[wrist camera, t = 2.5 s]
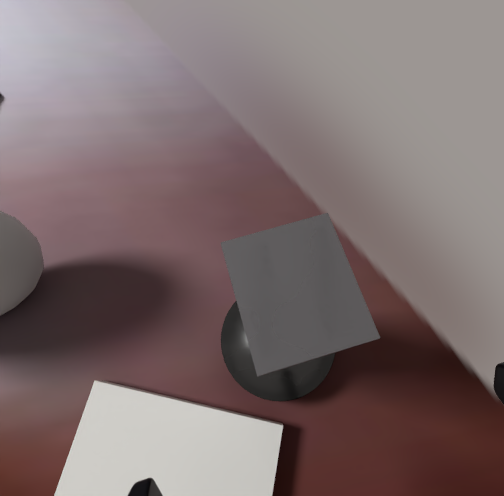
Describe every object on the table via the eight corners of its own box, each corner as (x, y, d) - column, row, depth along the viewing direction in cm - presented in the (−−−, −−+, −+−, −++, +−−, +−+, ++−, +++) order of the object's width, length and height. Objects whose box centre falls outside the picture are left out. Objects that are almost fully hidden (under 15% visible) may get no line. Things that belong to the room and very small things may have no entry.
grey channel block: (309, 277, 20) (364, 153, 9) (346, 380, 18) (480, 383, 7) (213, 305, 20) (147, 211, 9) (240, 414, 18) (198, 474, 6)
